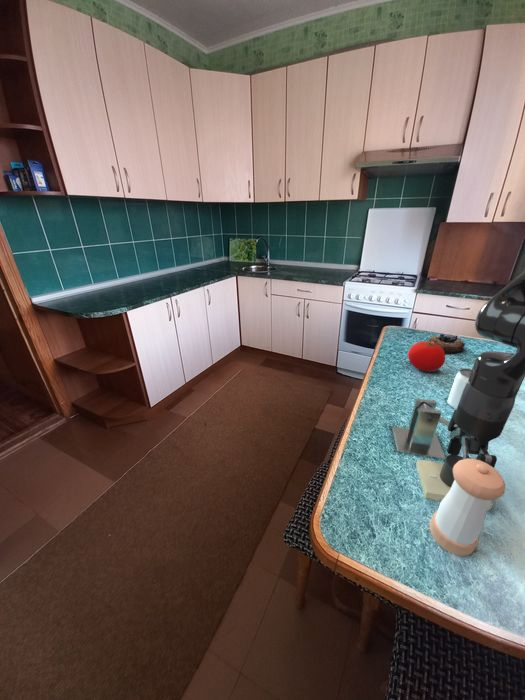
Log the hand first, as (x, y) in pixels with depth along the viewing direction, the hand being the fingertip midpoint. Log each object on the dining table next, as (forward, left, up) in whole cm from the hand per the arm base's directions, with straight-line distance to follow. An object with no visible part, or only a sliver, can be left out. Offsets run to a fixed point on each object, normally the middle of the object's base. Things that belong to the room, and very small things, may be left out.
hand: (458, 468), depth 61 cm
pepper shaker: (+3, +11, -7) cm, 14 cm away
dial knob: (0, 0, -4) cm, 4 cm away
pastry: (-20, -76, -7) cm, 78 cm away
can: (-12, -33, -7) cm, 35 cm away
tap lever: (0, -13, +1) cm, 13 cm away
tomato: (-7, -56, -7) cm, 56 cm away
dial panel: (0, 0, -7) cm, 7 cm away
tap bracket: (+4, -13, -7) cm, 15 cm away
